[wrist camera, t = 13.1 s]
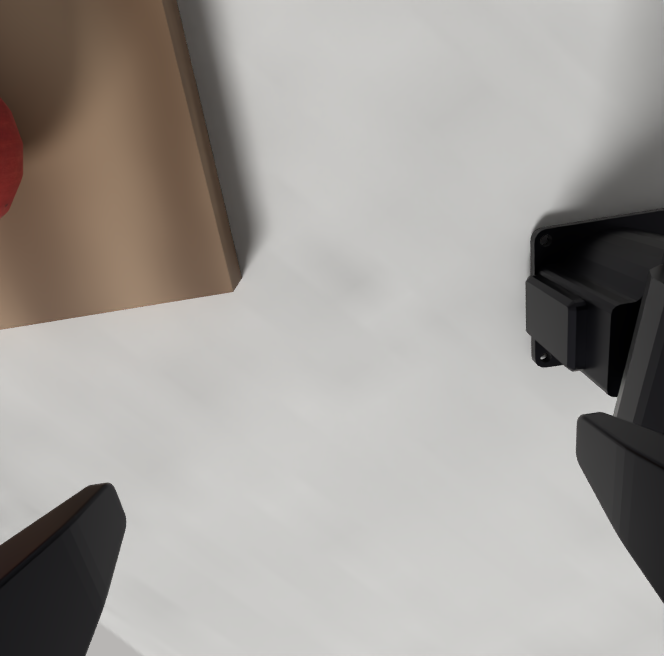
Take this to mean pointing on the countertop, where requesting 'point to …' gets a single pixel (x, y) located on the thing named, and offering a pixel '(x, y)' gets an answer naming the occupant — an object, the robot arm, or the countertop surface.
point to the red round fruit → (9, 158)
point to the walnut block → (107, 163)
